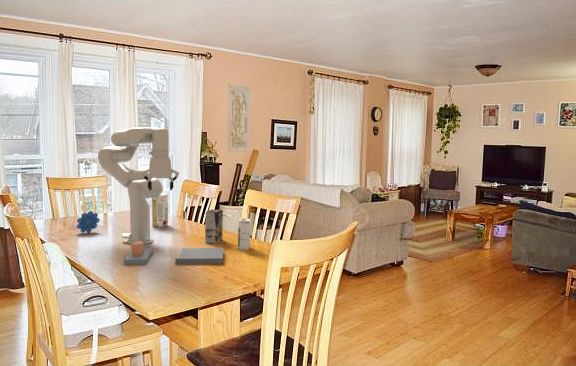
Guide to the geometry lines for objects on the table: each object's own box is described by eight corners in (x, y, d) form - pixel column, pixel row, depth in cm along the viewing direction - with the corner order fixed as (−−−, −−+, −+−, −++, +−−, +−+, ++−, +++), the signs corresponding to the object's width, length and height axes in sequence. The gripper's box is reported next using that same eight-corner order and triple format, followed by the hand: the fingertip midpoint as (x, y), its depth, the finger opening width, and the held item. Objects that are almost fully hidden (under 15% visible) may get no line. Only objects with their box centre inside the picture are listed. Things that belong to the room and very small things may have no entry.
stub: (123, 264, 195) (123, 247, 195) (132, 253, 213) (132, 237, 212) (145, 264, 197) (145, 247, 196) (152, 253, 214) (152, 237, 213)
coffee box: (216, 243, 235) (217, 212, 234) (204, 242, 237) (205, 211, 235) (222, 239, 244) (223, 209, 242) (211, 238, 246) (211, 208, 244)
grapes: (98, 230, 260) (98, 209, 259) (100, 232, 254) (100, 210, 253) (75, 232, 254) (75, 210, 253) (77, 234, 249) (76, 212, 247)
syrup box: (238, 247, 230) (238, 218, 228) (250, 247, 231) (250, 218, 229) (237, 249, 224) (238, 220, 223) (250, 249, 225) (250, 220, 223)
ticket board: (175, 264, 198) (175, 258, 198) (179, 253, 216) (179, 247, 216) (222, 263, 201) (222, 257, 200) (223, 252, 218) (223, 247, 218)
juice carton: (170, 225, 277) (169, 193, 275) (158, 227, 270) (158, 195, 268) (161, 223, 281) (160, 192, 279) (150, 225, 274) (149, 194, 272)
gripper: (140, 154, 215) (140, 190, 217) (178, 155, 218) (178, 191, 220) (143, 153, 223) (143, 188, 225) (179, 154, 225) (180, 189, 227)
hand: (160, 189), depth 222 cm, fingers open, 9 cm apart
